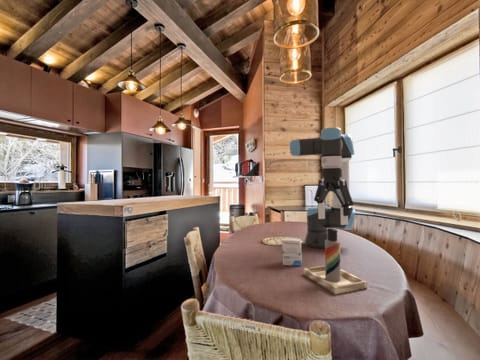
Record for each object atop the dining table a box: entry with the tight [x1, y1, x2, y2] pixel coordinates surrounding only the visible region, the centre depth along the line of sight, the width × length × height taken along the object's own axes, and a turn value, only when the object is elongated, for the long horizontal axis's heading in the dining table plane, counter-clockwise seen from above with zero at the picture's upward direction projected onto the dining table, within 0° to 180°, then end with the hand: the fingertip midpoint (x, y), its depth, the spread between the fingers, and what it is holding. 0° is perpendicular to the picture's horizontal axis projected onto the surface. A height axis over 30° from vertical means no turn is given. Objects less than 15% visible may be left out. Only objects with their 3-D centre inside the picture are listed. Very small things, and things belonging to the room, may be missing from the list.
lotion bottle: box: [324, 228, 341, 282], centre depth 100 cm, size 6×6×20 cm
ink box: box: [281, 237, 303, 267], centre depth 121 cm, size 9×5×12 cm, turn 71°
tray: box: [303, 265, 368, 295], centre depth 100 cm, size 20×14×2 cm
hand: (332, 221), depth 100 cm, fingers open, 13 cm apart
